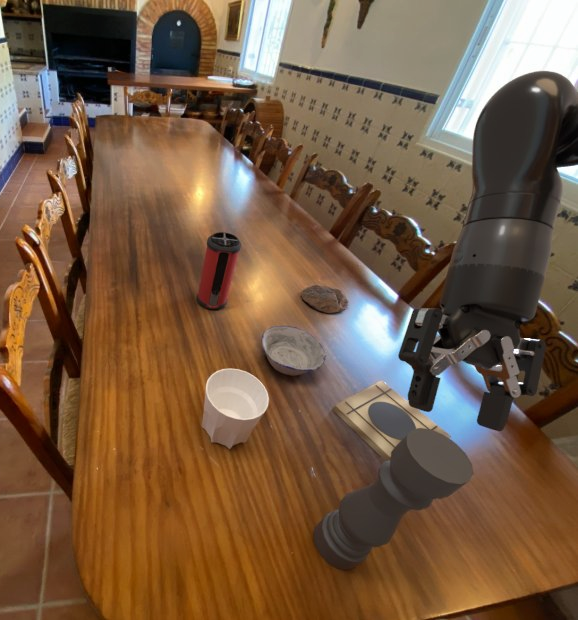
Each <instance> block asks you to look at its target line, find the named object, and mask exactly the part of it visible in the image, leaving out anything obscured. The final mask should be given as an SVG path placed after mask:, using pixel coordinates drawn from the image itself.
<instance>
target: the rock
mask: <svg viewBox="0 0 578 620" xmlns="http://www.w3.org/2000/svg"><path fill="white" fill-rule="evenodd" d="M300 295H301V298H302V300H303V301H304V302H305V303H307V304H308V305H309V306H310V307H312V308H313V309H315V310H317V311H319V312H321V313H324V314H334V313H338V312H342V311H344V310H345V309H346V308H347V306H348V305H349V299H347V298H346V295H345V294H344V293H343V291H342V290H340V289H338V288H333V287H329V286H326V285H325V286H324V285H317V284H316V285H315V284H314V285H311V286H307V287H306V288H304V289H303V290H302V292H301V294H300Z"/></svg>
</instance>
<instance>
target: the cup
mask: <svg viewBox="0 0 578 620" xmlns="http://www.w3.org/2000/svg"><path fill="white" fill-rule="evenodd" d="M204 391H205V392H204V401H203V403H204V404H203V413H202V418H201V426H200V427H201V428H202V429H204V430H205V432H206V433H207V435H208V436H209V438H210V443H211V444H212V443H217V444H220V445H223V446H225V447H226V448H227V449H229V450H231V449H232V448H233V446H236V445H238V444H240V443H247V441H248V440H249V437H250V436H251V435H252V433H253V432H254V429H255V428H256V426H257V425H258V423H259V422H260V420H261V419H262V417H263V415H264V414H265V412H266V411H267V409H268V407H269V403H270V398H269V392H268V390H267V388H266V387H265V385H264V384H263V383H262V382H261V380H260V379H259V378H257V377H256V376H255V375H253V374H252V373H250V372H248V371H245V370H242V369H239V368H231V367H230V368H222V369H219V370H216V371H215V372H213V373H212V374H210V376H209V377H208V378H207V381H206V384H205V390H204Z"/></svg>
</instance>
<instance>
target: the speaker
mask: <svg viewBox="0 0 578 620" xmlns="http://www.w3.org/2000/svg"><path fill="white" fill-rule="evenodd" d="M241 249H242V242H241V241H240V240H239V238H238V237H237V236H236V235H235V234H232V233H230V232H226V231H225V232H223V231H219V232H214V233H213V234H211V235H210V236H208V238H207V239H206V249H205V254H204V261H203V266H202V270H201V277H200V281H199V288H198V293H197V295H196V301H197V303H198V304H199V305H200V306H202V307H203V308H205V309H210V310H220V309H223V308H224V307H225V306H227V303H228V297H229V292H230V289H231V284H232V282H233V277H234V274H235V269H236V265H237V261H238V257H239V254H240V251H241Z"/></svg>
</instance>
